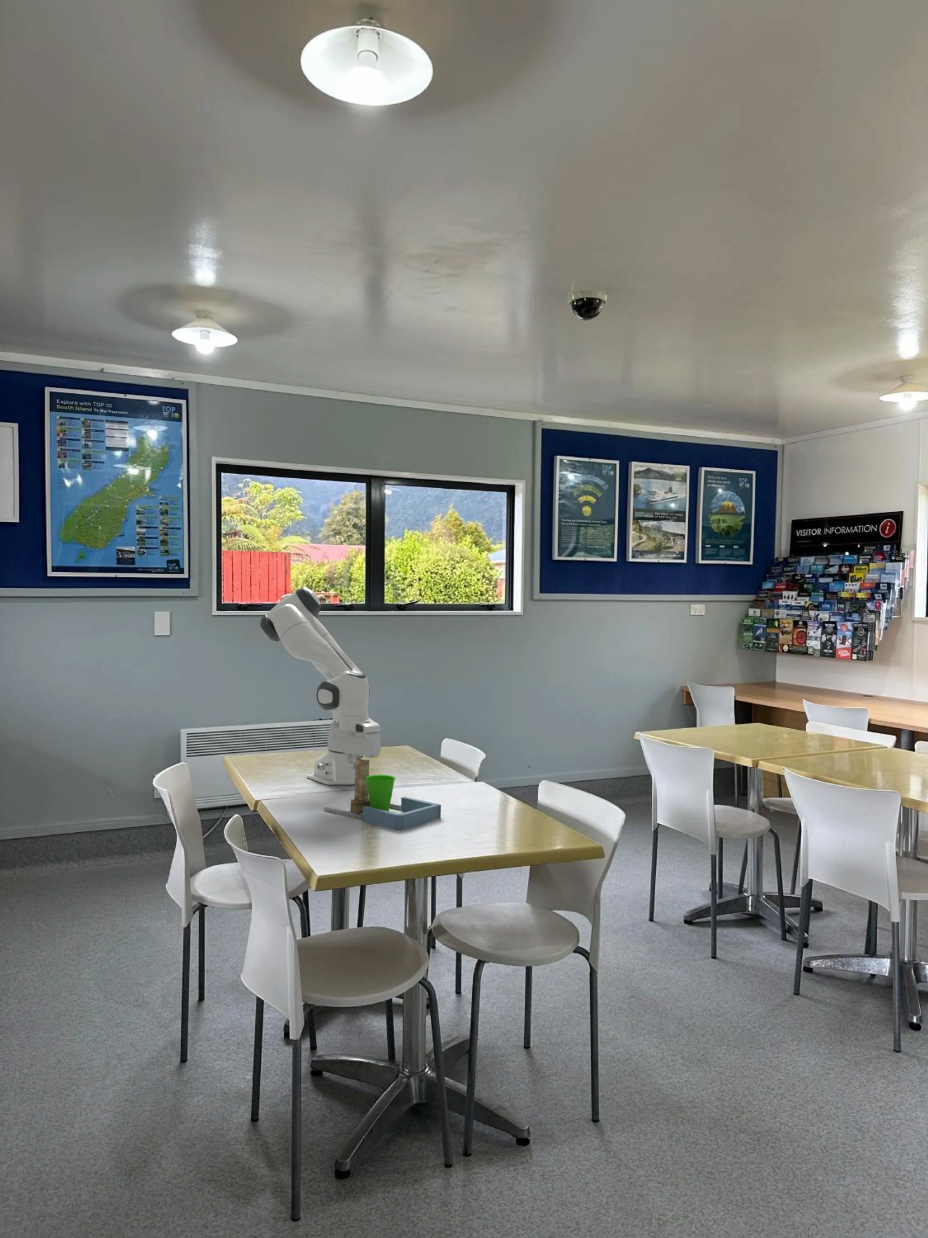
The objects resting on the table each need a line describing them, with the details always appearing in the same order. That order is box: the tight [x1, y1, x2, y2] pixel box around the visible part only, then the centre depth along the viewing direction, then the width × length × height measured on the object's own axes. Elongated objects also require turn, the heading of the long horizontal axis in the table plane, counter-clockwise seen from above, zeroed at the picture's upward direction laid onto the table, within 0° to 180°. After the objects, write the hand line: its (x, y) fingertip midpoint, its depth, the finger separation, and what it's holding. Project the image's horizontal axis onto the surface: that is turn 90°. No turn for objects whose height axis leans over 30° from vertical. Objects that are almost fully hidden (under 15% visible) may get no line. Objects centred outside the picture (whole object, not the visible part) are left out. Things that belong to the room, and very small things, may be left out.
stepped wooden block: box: [349, 758, 370, 814], centre depth 255 cm, size 5×12×15 cm, turn 142°
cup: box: [366, 774, 397, 812], centre depth 251 cm, size 9×9×11 cm
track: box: [323, 802, 401, 821], centre depth 255 cm, size 16×18×1 cm
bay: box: [362, 796, 442, 831], centre depth 246 cm, size 14×18×4 cm
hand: (352, 768), depth 258 cm, fingers closed
